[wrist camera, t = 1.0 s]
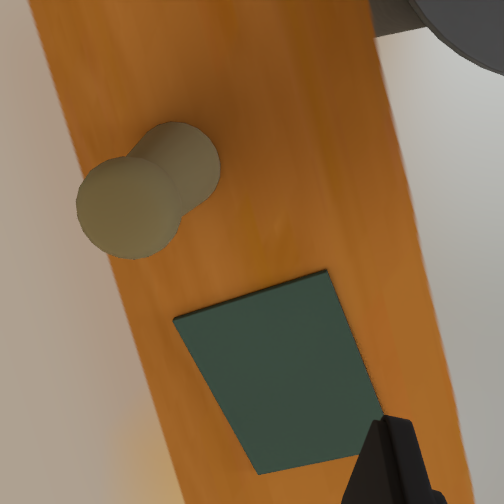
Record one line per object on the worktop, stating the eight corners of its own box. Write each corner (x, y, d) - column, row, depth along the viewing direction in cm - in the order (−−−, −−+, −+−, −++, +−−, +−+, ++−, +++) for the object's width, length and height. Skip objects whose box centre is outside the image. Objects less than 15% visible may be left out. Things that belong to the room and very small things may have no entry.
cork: (178, 102, 29) (111, 128, 19) (238, 172, 31) (206, 230, 21) (118, 160, 31) (30, 210, 21) (177, 223, 33) (121, 298, 23)
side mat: (326, 269, 33) (326, 272, 33) (394, 442, 39) (395, 447, 39) (173, 317, 36) (172, 321, 36) (258, 470, 42) (258, 475, 42)
